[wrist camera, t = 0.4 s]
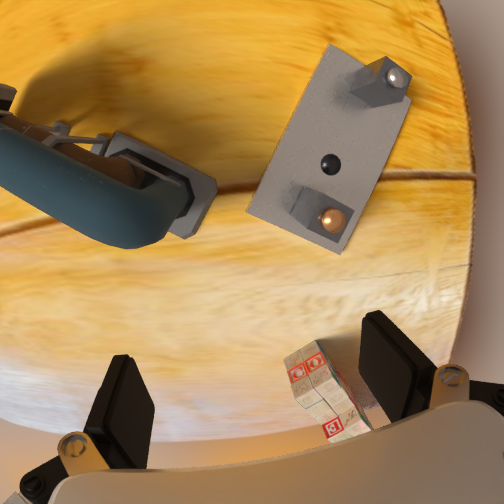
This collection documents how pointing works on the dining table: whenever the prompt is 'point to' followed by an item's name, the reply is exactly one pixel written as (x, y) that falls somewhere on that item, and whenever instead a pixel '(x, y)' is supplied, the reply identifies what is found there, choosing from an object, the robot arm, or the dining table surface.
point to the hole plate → (328, 149)
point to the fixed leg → (381, 83)
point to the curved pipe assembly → (101, 182)
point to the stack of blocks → (325, 394)
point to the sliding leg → (322, 214)
